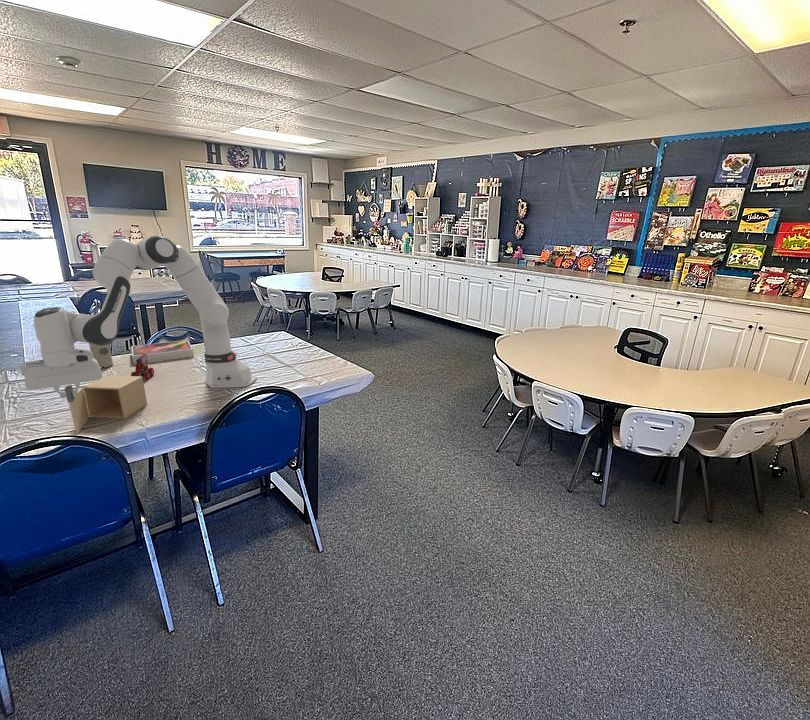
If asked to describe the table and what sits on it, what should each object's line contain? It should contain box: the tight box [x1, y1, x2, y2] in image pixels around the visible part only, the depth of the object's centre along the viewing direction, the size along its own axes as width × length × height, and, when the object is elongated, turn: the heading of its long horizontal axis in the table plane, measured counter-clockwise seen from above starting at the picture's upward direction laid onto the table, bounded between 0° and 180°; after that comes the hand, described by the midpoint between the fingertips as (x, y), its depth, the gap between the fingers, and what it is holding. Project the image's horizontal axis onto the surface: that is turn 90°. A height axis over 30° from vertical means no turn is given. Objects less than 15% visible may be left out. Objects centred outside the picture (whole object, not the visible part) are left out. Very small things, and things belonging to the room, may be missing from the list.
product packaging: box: [130, 339, 195, 365], centre depth 232 cm, size 22×28×5 cm
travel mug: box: [88, 343, 114, 367], centre depth 211 cm, size 8×8×18 cm
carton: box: [82, 374, 148, 419], centre depth 163 cm, size 14×13×12 cm
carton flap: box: [64, 384, 90, 435], centre depth 149 cm, size 14×1×17 cm, turn 23°
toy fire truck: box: [130, 354, 155, 381], centre depth 198 cm, size 7×12×10 cm, turn 11°
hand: (69, 396), depth 143 cm, fingers closed
